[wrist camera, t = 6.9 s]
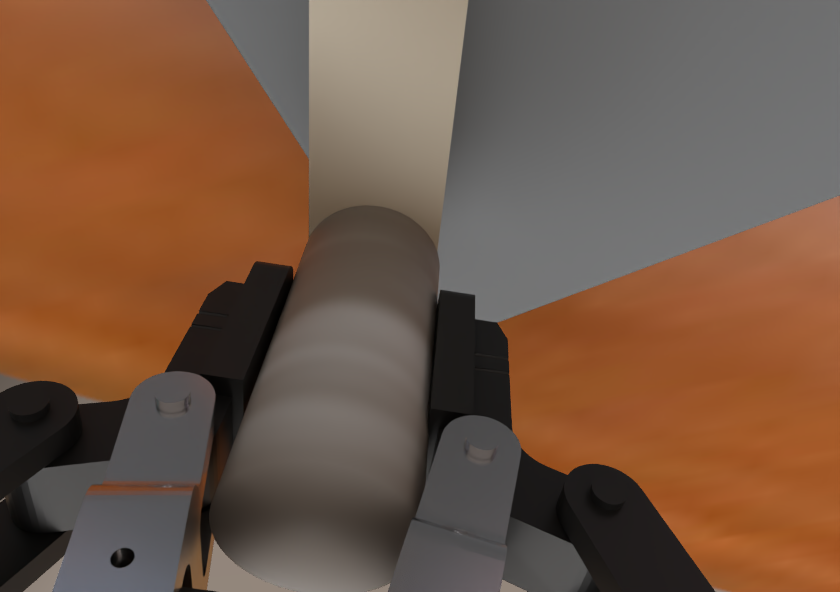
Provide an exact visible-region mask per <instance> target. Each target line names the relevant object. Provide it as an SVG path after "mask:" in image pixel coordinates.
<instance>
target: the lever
mask: <svg viewBox="0 0 840 592" xmlns="http://www.w3.org/2000/svg"><path fill="white" fill-rule="evenodd" d="M467 7H468V0H309V240H308V242H307V244H306V247H305V250H304V253H303V255H302V258H301V261H300V264H299V266H298V269H297V272H296V274H295V277H294V280H293V283H292V285H291V288H290V291H289V293H288V296H287V299H286V302H285V304H284V307H283V310H282V313H281V315H280V318H279V321H278V323H277V326H276V329H275V332H274V334H273V337H272V340H271V342H270V345H269V348H268V351H267V353H266V356H265V359H264V362H263V364H262V367H261V370H260V372H259V375H258V378H257V381H256V383H255V386H254V389H253V391H252V394H251V397H250V400H249V402H248V405H247V408H246V411H245V413H244V416H243V419H242V421H241V424H240V427H239V430H238V432H237V435H236V438H235V440H234V443H233V446H232V449H231V451H230V454H229V457H228V459H227V462H226V465H225V468H224V470H223V473H222V476H221V479H220V481H219V484H218V487H217V489H216V492H215V495H214V498H213V500H212V503H211V507H210V512H209V523H210V527H211V531H212V534H213V536H214V538H215V540H216V542H217V544H218V545H219V547H220V548H221V549H222V551H223V552H224V553H225V554H226V555H227V556H228V557H229V558H230V559H231V560H232V561H233V562H234V563H235V564H237V565H238V566H240V567H241V568H242V569H243V570H245V571H247V572H248V573H250V574H252V575H253V576H255V577H257V578H259V579H261V580H264V581H265V582H268V583H271V584H273V585H276V586H278V587H282V588H285V589H288V590H293V591H297V592H367V591H370V590H374V589H377V588H380V587H382V586H385V585H387V584H389V583H391V580H392V577H393V574H394V571H395V568H396V565H397V562H398V559H399V556H400V553H401V550H402V547H403V544H404V541H405V538H406V535H407V531H408V529H409V526H410V523H411V520H412V518H413V517H415V516H416V513H417V510H418V507H419V504H420V501H421V498H422V494H423V491H424V488H425V485H426V470H427V455H428V438H429V433H428V414H429V402H430V390H431V377H432V365H433V353H434V341H435V328H436V315H437V301H438V285H439V269H440V264H439V257H438V253H437V251H438V243H439V235H440V226H441V218H442V210H443V202H444V194H445V186H446V178H447V170H448V162H449V153H450V145H451V137H452V129H453V121H454V113H455V105H456V97H457V88H458V80H459V72H460V64H461V56H462V48H463V40H464V32H465V24H466V15H467Z"/></svg>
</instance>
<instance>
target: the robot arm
mask: <svg viewBox="0 0 840 592" xmlns="http://www.w3.org/2000/svg"><path fill="white" fill-rule="evenodd" d="M292 283H293V268H292V267H291V266H285V265H278V264H272V263H265V262H258V261H256V262H255V263H254V265H253V267H252V269H251V271H250V273H249V275H248V277H247V279H246V281H245V283H244V284H242V283H236V282H229V281H226V282H225V283H223V284H222V285H220V286H219V287H218V288H216V289H215V290H213V291H212V292H211V293H209V294H208V296H207V297H206V299H205V301H204V303H203V305H202V306H201V308H200V310H199V314H197V315H196V317H195V319H194V321H193V322H192V326H191V327H190V328H189V330H188V331H187V333H186V335H185V337H184V339H183V340H182V342H181V344H180V346H179V348H178V349H177V351H176V353H175V355H174V356H173V358H172V360H171V362H170V364H169V365H168V367H167V369H166V371H165V373H161V374H158V375H155V376H152V377H150V378H148V379H146V380H145V381H143V382H142V383H140V384H139V385H138V386H137V387H136V388H135V390H134V391H133V392H132V394H131V397H130V398H128V399H123V400H119V401H112V402H101V403H89V404H78V400H77V397H76V395H75V393H74V392H73V391H72V390H71V389H70V388H68V387H67V386H65V385H63V384H60V383H56V382H50V381H34V382H28V383H23V384H20V385H16V386H14V387H11V388H9V389H7V390H5V391H3V392H1V393H0V500H1V499H3V498H4V497H5V499H4V500H3V501H2V502H0V592H23V591H24V590H25V589H26V588H28V587H29V586H30V585H31V584H32V583H33V582H34V581H36V580H37V579H38V578H39V577H40V576H41V575H42V574H43V573H45V572H46V571H47V570H48V569H49V568H50V567H52V566H53V565H54V564H55V563H56V562H57V561H58V560H60V558H62V557H63V556H64V555H65V556H64V559H63V562H62V565H61V568H60V570H59V574H58V577H57V579H56V583H55V585H54V588H53V591H52V592H215V591H208V590H207V586H208V579H209V572H210V565H211V558H212V552H213V545H214V536H213V534H212V531H211V527H210V523H209V512H210V507H211V503H212V500H213V498H214V495H215V492H216V489H217V487H218V484H219V481H220V479H221V476H222V473H223V470H224V468H225V465H226V462H227V459H228V457H229V454H230V451H231V449H232V446H233V443H234V440H235V438H236V435H237V432H238V430H239V427H240V424H241V421H242V419H243V416H244V413H245V411H246V408H247V405H248V402H249V400H250V397H251V394H252V391H253V389H254V386H255V383H256V381H257V378H258V375H259V372H260V370H261V367H262V364H263V362H264V359H265V356H266V353H267V351H268V348H269V345H270V342H271V340H272V337H273V334H274V332H275V329H276V326H277V323H278V321H279V318H280V315H281V313H282V310H283V307H284V304H285V302H286V299H287V296H288V293H289V291H290V288H291V285H292ZM428 433H429V438H428V455H427V470H426V485H425V488H424V491H423V494H422V498H421V501H420V504H419V507H418V510H417V513H416V516H415V517H413V518H412V520H411V523H410V526H409V529H408V531H407V535H406V538H405V541H404V544H403V547H402V550H401V553H400V556H399V559H398V562H397V565H396V568H395V571H394V574H393V577H392V580H391V584H390V587H389V590H388V592H500V588H501V583H502V579H503V580H505V581H507V582H509V583H511V584H513V585H515V586H517V587H520V588H522V589H524V590H526V591H527V592H715V591H714V589H713V588H712V586H711V585H710V584H709V582H708V581H707V579H706V578H705V577H704V575H703V574H702V572H701V571H700V570H699V568H698V567H697V566H696V564H695V563H694V561H693V560H692V559H691V557H690V556H689V554H688V553H687V552H686V550H685V549H684V548H683V546H682V545H681V543H680V542H679V541H678V539H677V538H676V536H675V535H674V534H673V532H672V531H671V529H670V528H669V527H668V525H667V524H666V523H665V521H664V520H663V518H662V517H661V516H660V514H659V513H658V511H657V510H656V509H655V507H654V506H653V504H652V503H651V502H650V500H649V499H648V498H647V496H646V495H645V493H644V492H643V491H642V489H641V488H640V487H639V486H638V484H637V483H636V482H635V481H634V480H632V479H631V478H630V477H629V476H627V475H626V474H624V473H622V472H621V471H619V470H617V469H614V468H612V467H609V466H605V465H600V464H587V465H582V466H579V467H577V468H575V469H573V470H572V471H571V472H570V473H569V474H568V475H566V474H564V473H561V472H559V471H557V470H554V469H552V468H549V467H547V466H545V465H543V464H541V463H539V462H537V461H536V460H534V459H533V458H531V457H530V456H529V455H528V454H526V453H525V452H524V450H523V449H522V448H521V446H520V443H519V440H518V439H517V437H516V435H515V434H514V433H513V431H512V419H511V399H510V378H509V361H508V339H507V338H506V336H505V335H504V333H503V332H502V330H501V328H500V327H499V325H498V324H497V322H491V321H484V320H477V319H475V295H473V294H466V293H460V292H453V291H447V290H440V293H439V298H438V304H437V315H436V328H435V341H434V353H433V365H432V377H431V390H430V402H429V414H428Z"/></svg>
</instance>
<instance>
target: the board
mask: <svg viewBox="0 0 840 592" xmlns="http://www.w3.org/2000/svg"><path fill="white" fill-rule="evenodd" d="M206 1H207V2H208V4H209V5H210V7H211V9H212V10H213V12H214V13H215V15H216V16H217V18H218V19H219V21H220V22H221V24H222V25H223V27H224V29H225V30H226V32H227V33H228V35H229V36H230V38H231V39H232V41H233V42H234V44H235V46H236V47H237V49H238V50H239V52H240V53H241V55H242V56H243V58H244V59H245V61H246V63H247V64H248V66H249V67H250V69H251V70H252V72H253V73H254V75H255V76H256V78H257V79H258V81H259V83H260V84H261V86H262V87H263V89H264V90H265V92H266V93H267V95H268V96H269V98H270V100H271V101H272V103H273V104H274V106H275V107H276V109H277V110H278V112H279V113H280V115H281V117H282V118H283V120H284V121H285V123H286V124H287V126H288V127H289V129H290V130H291V132H292V134H293V135H294V137H295V138H296V140H297V141H298V143H299V144H300V146H301V147H302V149H303V150H304V152H305V154H306V155H307V157H308V158H309V0H206ZM837 196H840V0H468V7H467V15H466V24H465V32H464V40H463V48H462V56H461V64H460V72H459V80H458V88H457V97H456V105H455V113H454V121H453V129H452V137H451V145H450V153H449V162H448V170H447V178H446V186H445V194H444V202H443V210H442V218H441V226H440V235H439V243H438V251H437V253H438V257H439V264H440V269H439V285H438V298H439V293H440V290H447V291H453V292H460V293H466V294H473V295H475V319H477V320H484V321H491V322H500V321H503V320H505V319H508V318H511V317H514V316H516V315H519V314H522V313H524V312H527V311H530V310H532V309H535V308H538V307H540V306H543V305H546V304H549V303H551V302H554V301H557V300H559V299H562V298H565V297H567V296H570V295H573V294H576V293H578V292H581V291H584V290H586V289H589V288H592V287H594V286H597V285H600V284H602V283H605V282H608V281H611V280H613V279H616V278H619V277H621V276H624V275H627V274H629V273H632V272H635V271H637V270H640V269H643V268H646V267H648V266H651V265H654V264H656V263H659V262H662V261H664V260H667V259H670V258H672V257H675V256H678V255H681V254H683V253H686V252H689V251H691V250H694V249H697V248H699V247H702V246H705V245H708V244H710V243H713V242H716V241H718V240H721V239H724V238H726V237H729V236H732V235H734V234H737V233H740V232H743V231H745V230H748V229H751V228H753V227H756V226H759V225H761V224H764V223H767V222H769V221H772V220H775V219H778V218H780V217H783V216H786V215H788V214H791V213H794V212H796V211H799V210H802V209H804V208H807V207H810V206H813V205H815V204H818V203H821V202H823V201H826V200H829V199H831V198H834V197H837ZM437 304H438V301H437Z"/></svg>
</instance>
